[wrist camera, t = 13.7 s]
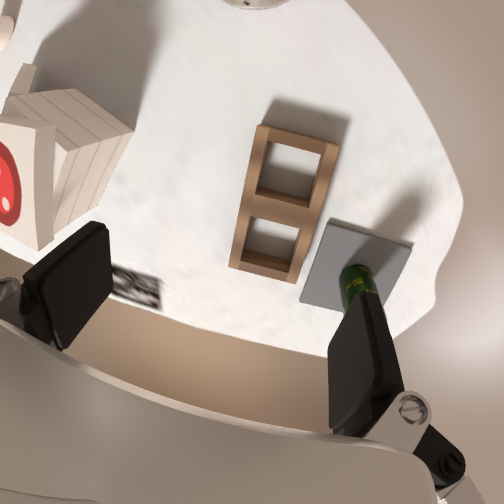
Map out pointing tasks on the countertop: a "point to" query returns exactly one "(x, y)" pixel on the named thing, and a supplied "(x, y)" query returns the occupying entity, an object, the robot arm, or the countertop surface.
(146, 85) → the countertop surface
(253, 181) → the can holder
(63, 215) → the pizza boxes
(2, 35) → the alcohol
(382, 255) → the rubber mat
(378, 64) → the countertop surface
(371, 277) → the beer can
